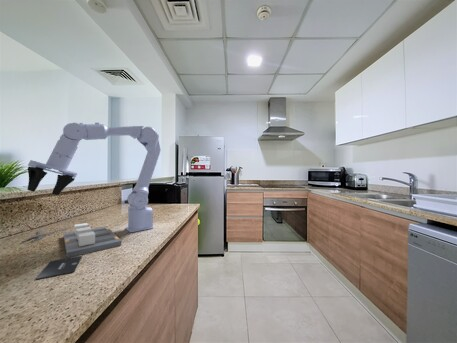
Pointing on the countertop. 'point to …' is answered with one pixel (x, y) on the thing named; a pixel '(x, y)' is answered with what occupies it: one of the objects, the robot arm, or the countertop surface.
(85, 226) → the tab
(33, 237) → the pliers
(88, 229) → the tab
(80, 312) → the countertop surface
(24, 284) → the countertop surface
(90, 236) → the white block
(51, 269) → the solid state drive
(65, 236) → the switch board
